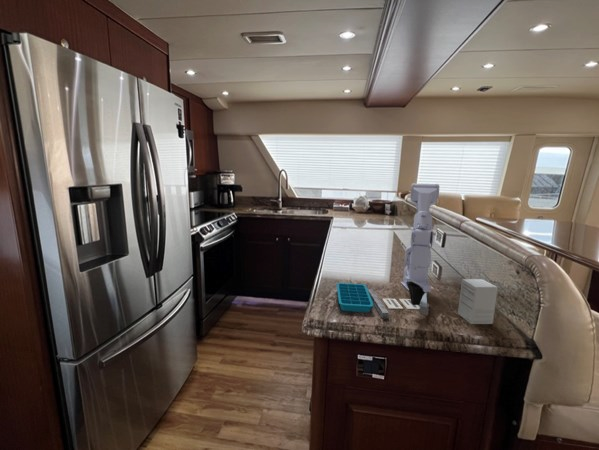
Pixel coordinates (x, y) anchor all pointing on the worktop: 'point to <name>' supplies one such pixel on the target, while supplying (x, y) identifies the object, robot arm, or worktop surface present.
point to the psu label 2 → (409, 304)
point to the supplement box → (477, 301)
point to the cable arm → (424, 305)
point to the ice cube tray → (354, 297)
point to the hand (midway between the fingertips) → (415, 304)
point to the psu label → (392, 303)
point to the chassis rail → (378, 304)
